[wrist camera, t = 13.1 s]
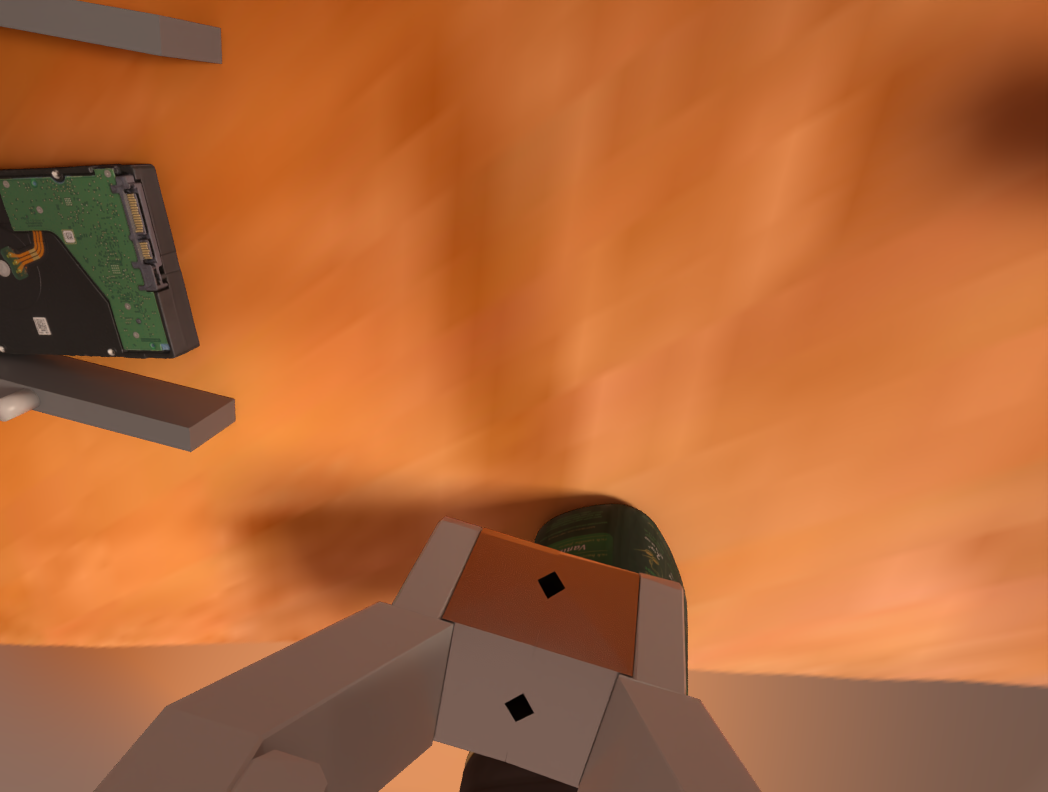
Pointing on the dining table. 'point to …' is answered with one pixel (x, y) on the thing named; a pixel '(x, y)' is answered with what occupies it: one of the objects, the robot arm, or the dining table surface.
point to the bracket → (82, 386)
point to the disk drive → (90, 265)
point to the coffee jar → (603, 538)
